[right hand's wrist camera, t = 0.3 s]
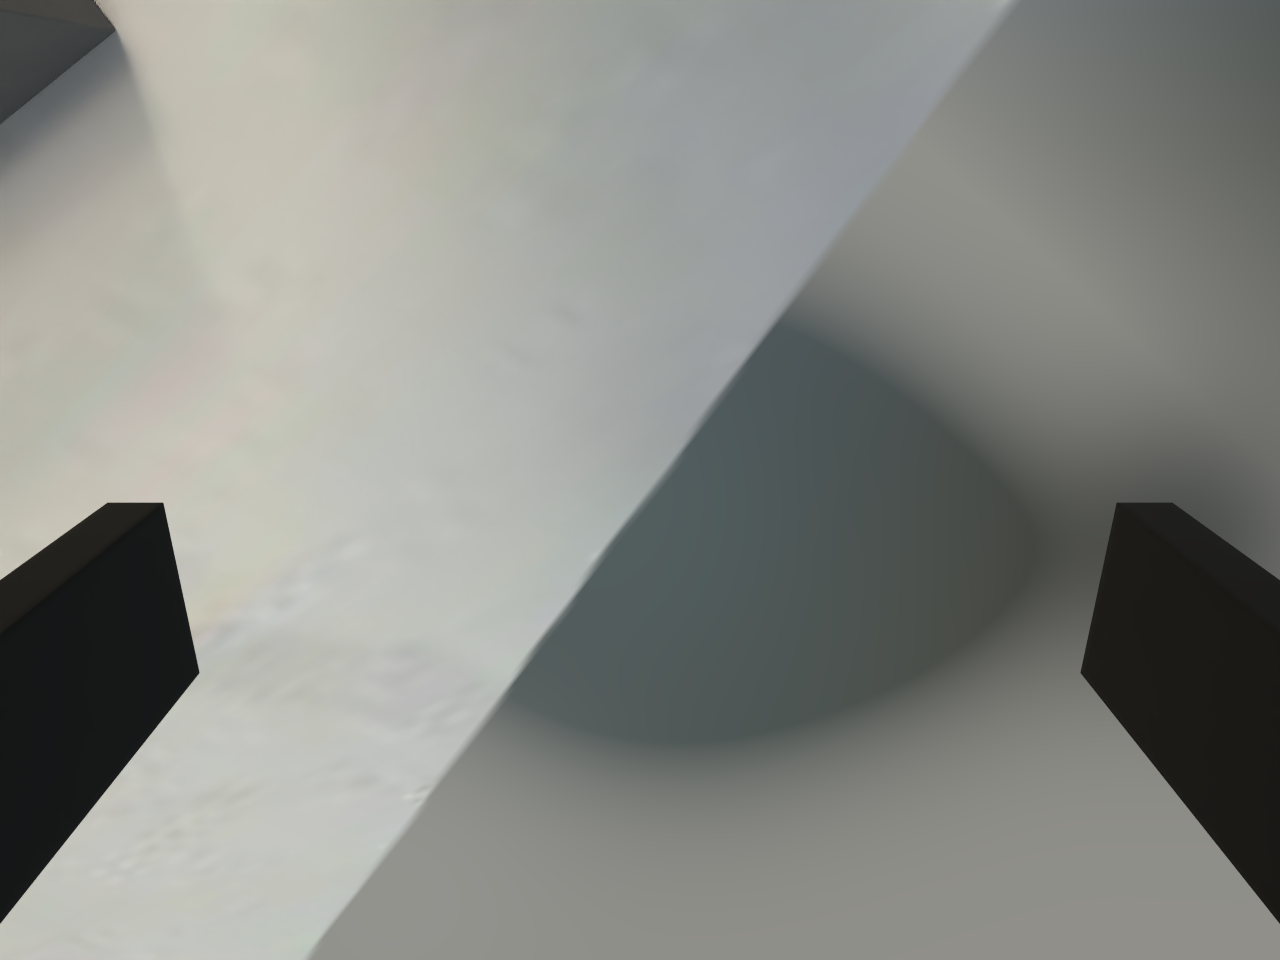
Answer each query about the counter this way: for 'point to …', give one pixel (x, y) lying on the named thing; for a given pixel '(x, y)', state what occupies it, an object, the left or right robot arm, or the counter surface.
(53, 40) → the thick board
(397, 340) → the counter surface
